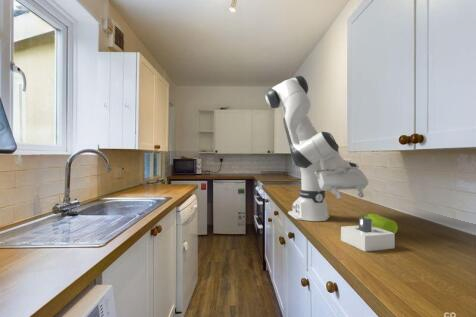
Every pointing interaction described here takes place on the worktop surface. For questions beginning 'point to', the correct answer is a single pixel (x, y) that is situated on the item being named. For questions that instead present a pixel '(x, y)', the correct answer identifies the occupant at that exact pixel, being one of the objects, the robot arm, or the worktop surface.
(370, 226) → the metal peg
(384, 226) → the soap dispenser
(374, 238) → the socket block
